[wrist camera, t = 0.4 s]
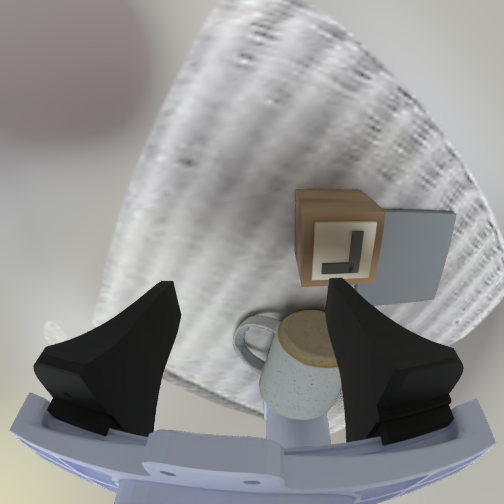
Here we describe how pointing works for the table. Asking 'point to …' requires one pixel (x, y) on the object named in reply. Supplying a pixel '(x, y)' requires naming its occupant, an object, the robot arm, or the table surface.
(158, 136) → the table surface
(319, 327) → the ceramic mug
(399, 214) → the slate mat
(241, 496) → the robot arm
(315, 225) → the letter cube
